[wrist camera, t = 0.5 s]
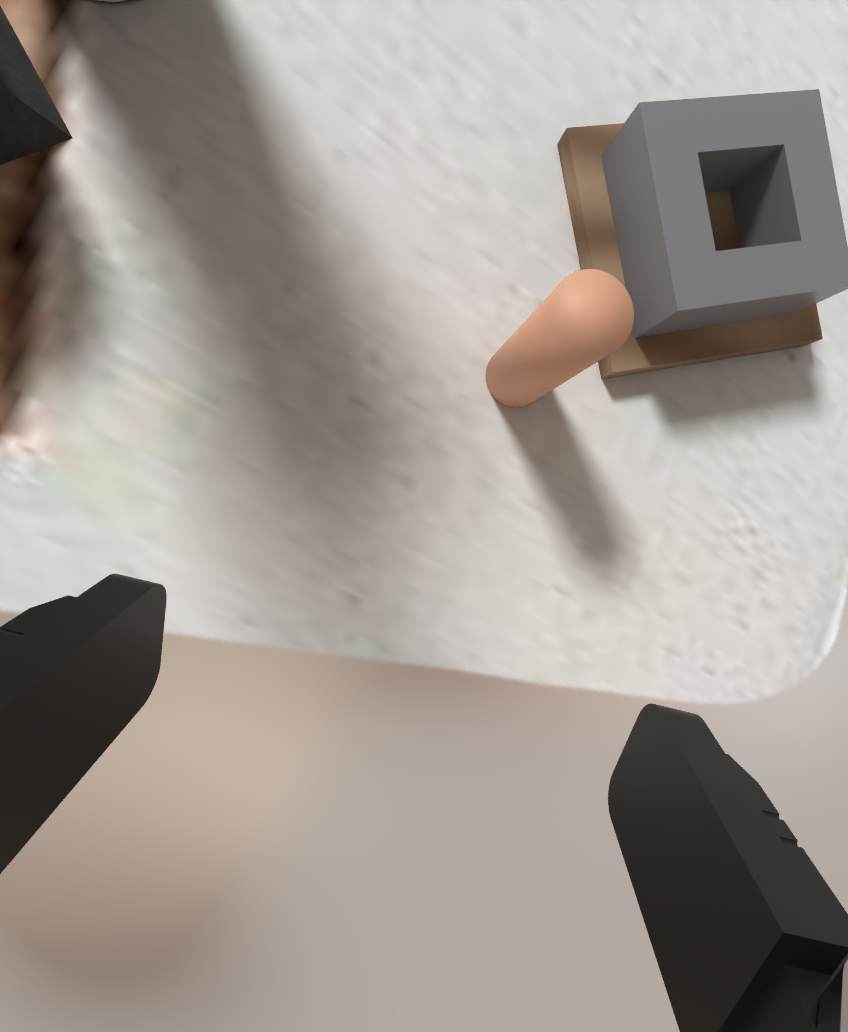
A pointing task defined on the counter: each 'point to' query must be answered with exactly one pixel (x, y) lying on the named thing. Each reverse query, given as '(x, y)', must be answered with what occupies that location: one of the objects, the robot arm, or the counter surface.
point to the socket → (756, 204)
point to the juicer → (24, 102)
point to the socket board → (601, 253)
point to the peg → (562, 337)
